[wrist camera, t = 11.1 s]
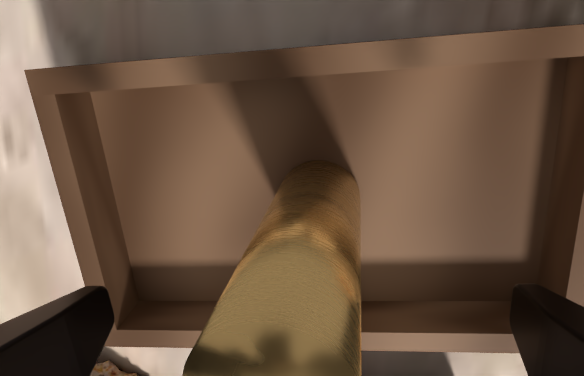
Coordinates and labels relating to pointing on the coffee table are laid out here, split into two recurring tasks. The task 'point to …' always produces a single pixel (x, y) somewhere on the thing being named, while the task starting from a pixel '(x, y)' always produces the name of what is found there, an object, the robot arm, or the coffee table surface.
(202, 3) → the coffee table surface
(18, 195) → the coffee table surface
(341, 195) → the brass pin
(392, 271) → the walnut tray
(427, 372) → the coffee table surface
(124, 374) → the mineral rock
